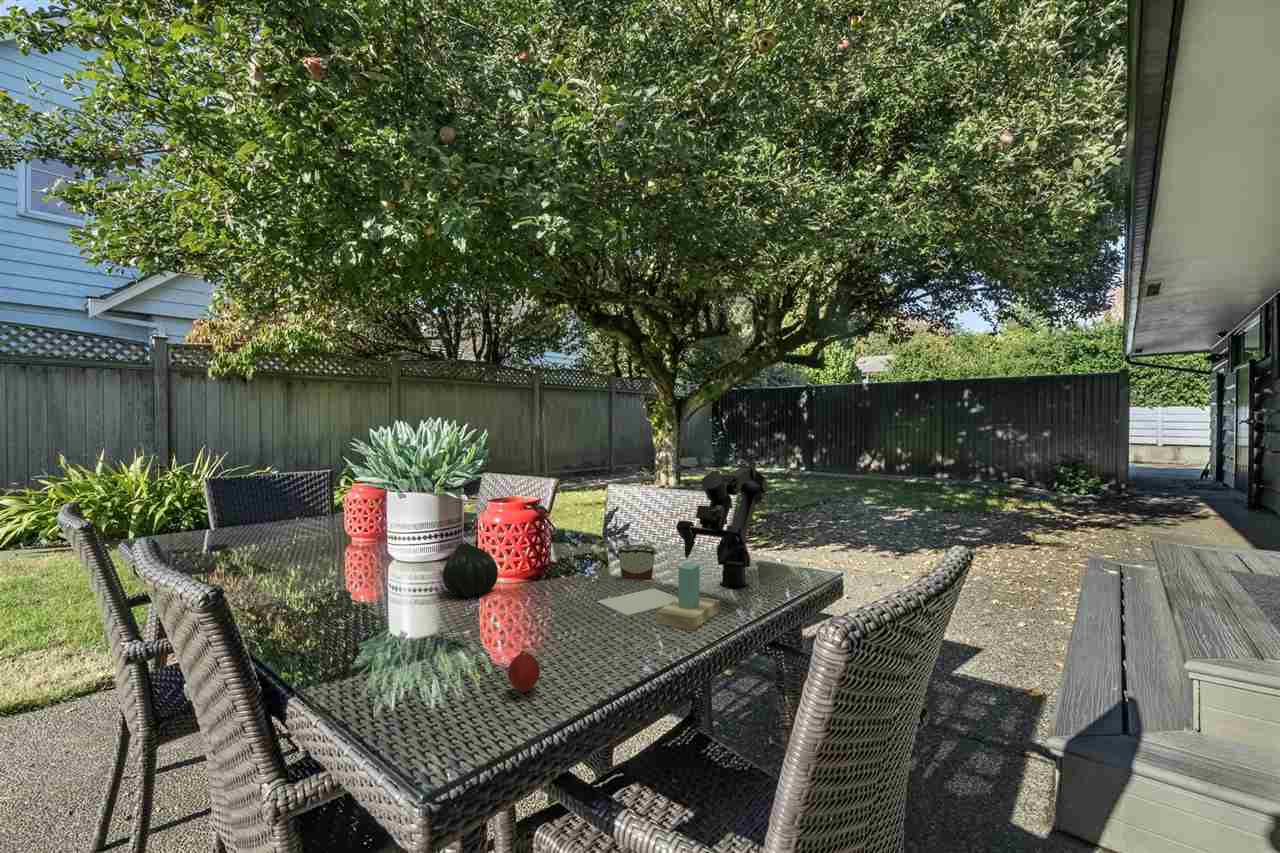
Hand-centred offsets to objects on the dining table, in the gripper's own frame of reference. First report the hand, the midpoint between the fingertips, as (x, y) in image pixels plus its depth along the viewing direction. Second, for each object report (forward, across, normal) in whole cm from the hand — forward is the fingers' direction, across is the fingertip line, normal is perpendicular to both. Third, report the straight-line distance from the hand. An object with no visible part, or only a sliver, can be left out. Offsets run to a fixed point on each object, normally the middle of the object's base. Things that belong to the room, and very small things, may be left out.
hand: (701, 559), depth 161 cm
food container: (-3, -29, +22) cm, 37 cm away
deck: (+15, 0, +4) cm, 15 cm away
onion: (+52, -9, -34) cm, 63 cm away
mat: (+12, -16, +7) cm, 21 cm away
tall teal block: (+13, 0, +1) cm, 13 cm away
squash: (+24, -63, -5) cm, 67 cm away
